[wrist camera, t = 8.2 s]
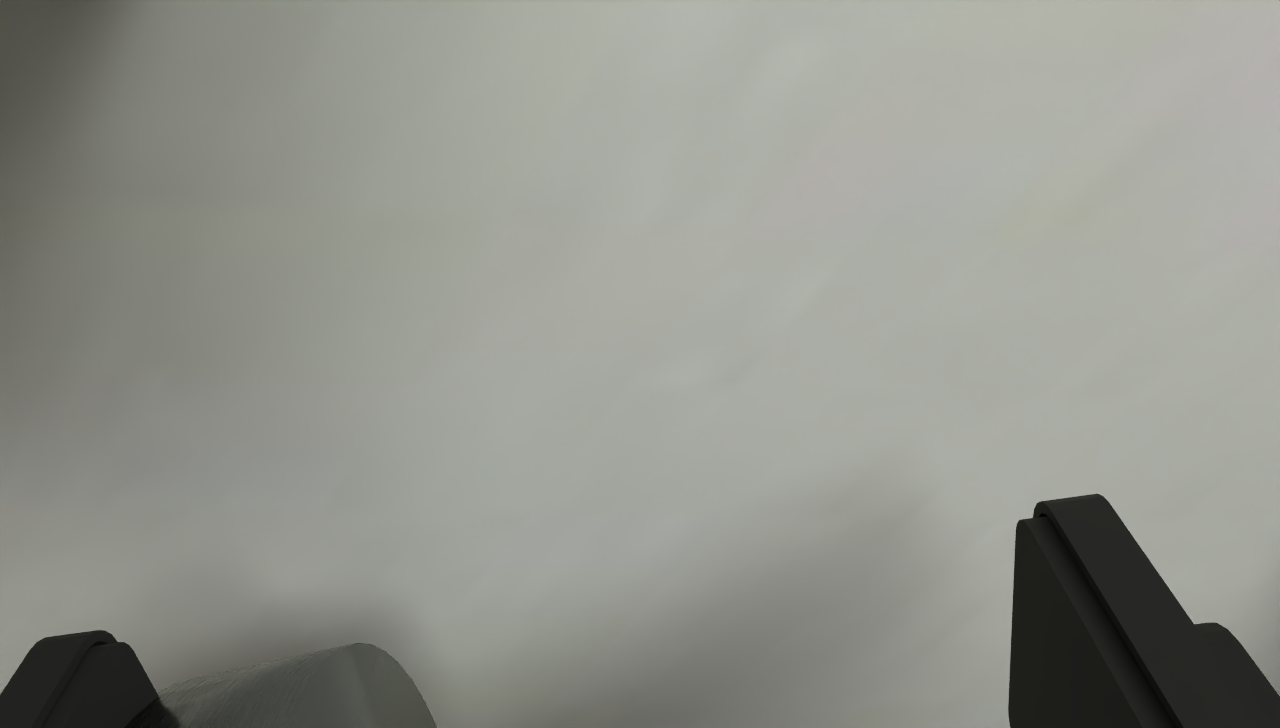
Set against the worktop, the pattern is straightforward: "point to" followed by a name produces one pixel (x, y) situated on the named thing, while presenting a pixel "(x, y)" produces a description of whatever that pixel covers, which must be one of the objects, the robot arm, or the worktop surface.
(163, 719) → the brass peg with disc
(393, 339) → the worktop surface
